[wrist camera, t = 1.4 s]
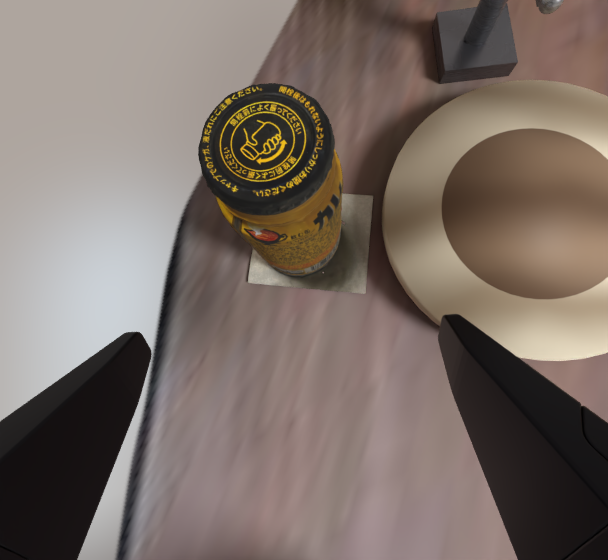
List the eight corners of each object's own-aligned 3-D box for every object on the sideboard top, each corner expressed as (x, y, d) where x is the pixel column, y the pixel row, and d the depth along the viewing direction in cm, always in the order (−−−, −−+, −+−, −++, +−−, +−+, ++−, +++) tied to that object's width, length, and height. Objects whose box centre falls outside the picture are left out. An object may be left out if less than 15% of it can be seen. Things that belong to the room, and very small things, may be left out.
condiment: (261, 189, 24) (190, 56, 12) (372, 196, 23) (411, 58, 11) (248, 283, 23) (157, 233, 11) (365, 294, 22) (398, 253, 10)
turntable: (707, 352, 19) (739, 353, 17) (394, 364, 20) (399, 367, 19) (638, 81, 21) (661, 63, 20) (371, 111, 23) (373, 96, 22)
